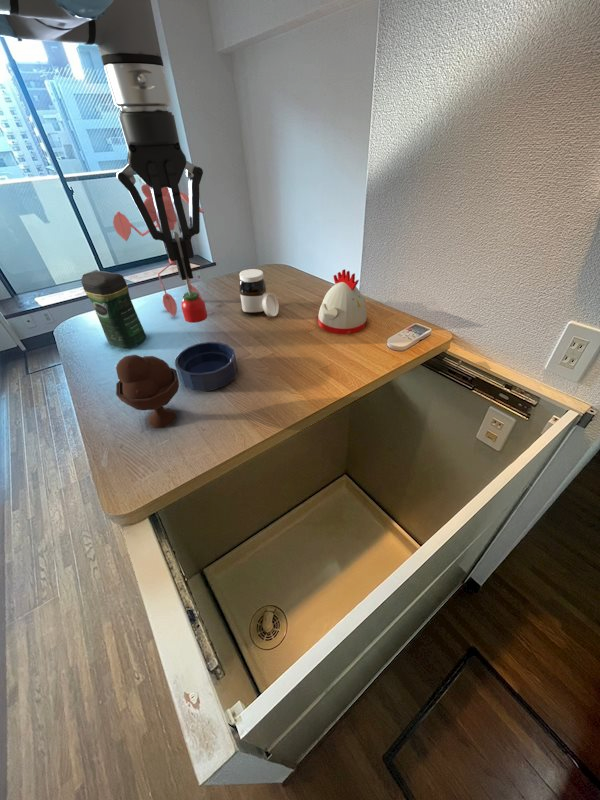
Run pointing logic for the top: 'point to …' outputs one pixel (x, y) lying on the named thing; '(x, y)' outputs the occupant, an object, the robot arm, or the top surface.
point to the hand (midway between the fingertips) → (186, 276)
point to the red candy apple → (191, 296)
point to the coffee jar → (114, 308)
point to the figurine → (125, 226)
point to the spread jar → (256, 294)
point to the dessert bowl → (206, 366)
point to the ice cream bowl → (148, 387)
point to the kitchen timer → (343, 306)
